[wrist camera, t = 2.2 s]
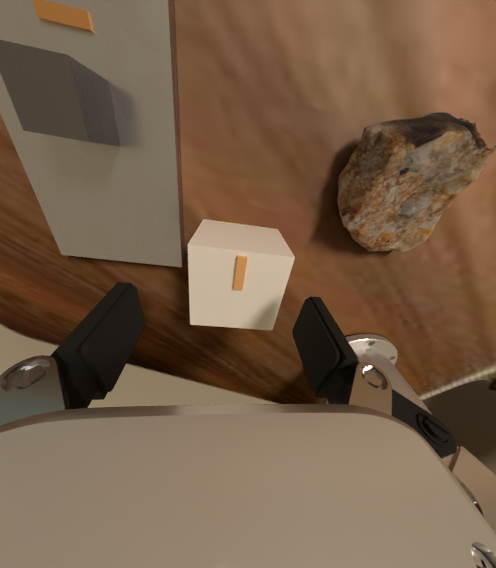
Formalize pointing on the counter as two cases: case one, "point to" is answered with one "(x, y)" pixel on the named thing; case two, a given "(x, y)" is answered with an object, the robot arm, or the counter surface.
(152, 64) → the plate
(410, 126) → the rock
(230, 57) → the counter surface
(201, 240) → the orange-striped white cube
